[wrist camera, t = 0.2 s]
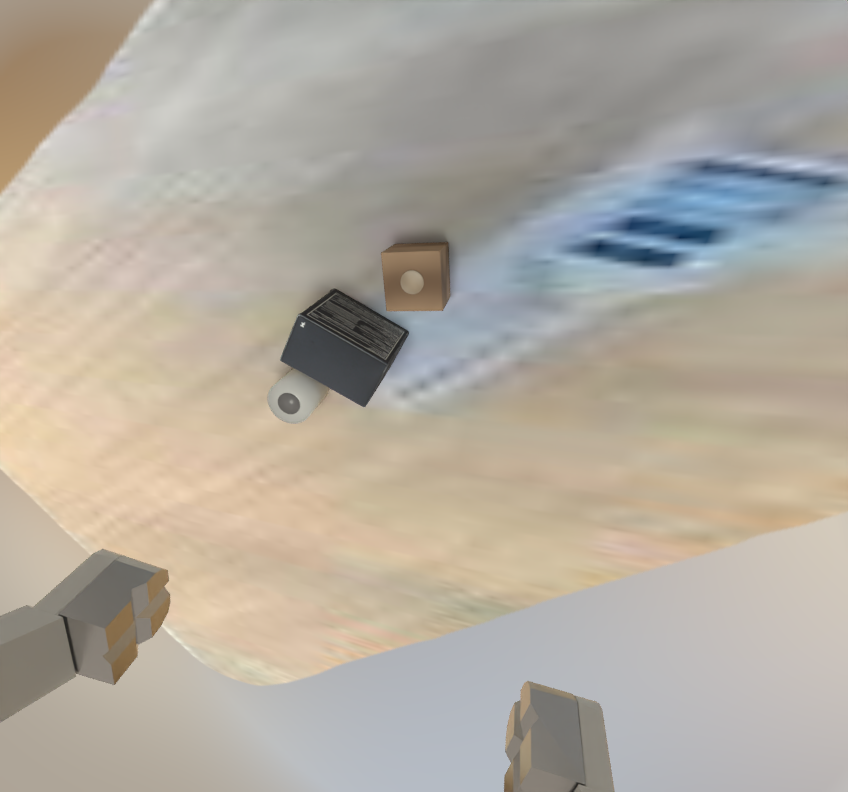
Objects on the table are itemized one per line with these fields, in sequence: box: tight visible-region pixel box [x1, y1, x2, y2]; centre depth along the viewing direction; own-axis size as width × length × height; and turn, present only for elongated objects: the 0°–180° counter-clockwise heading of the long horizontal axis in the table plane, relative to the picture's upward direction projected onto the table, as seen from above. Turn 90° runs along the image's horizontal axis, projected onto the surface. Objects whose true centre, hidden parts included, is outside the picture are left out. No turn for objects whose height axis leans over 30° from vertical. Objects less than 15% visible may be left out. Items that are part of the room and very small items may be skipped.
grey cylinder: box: [268, 368, 329, 424], centre depth 61 cm, size 6×6×6 cm
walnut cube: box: [381, 242, 450, 311], centre depth 52 cm, size 6×6×6 cm
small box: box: [280, 289, 409, 407], centre depth 54 cm, size 11×6×10 cm, turn 62°
